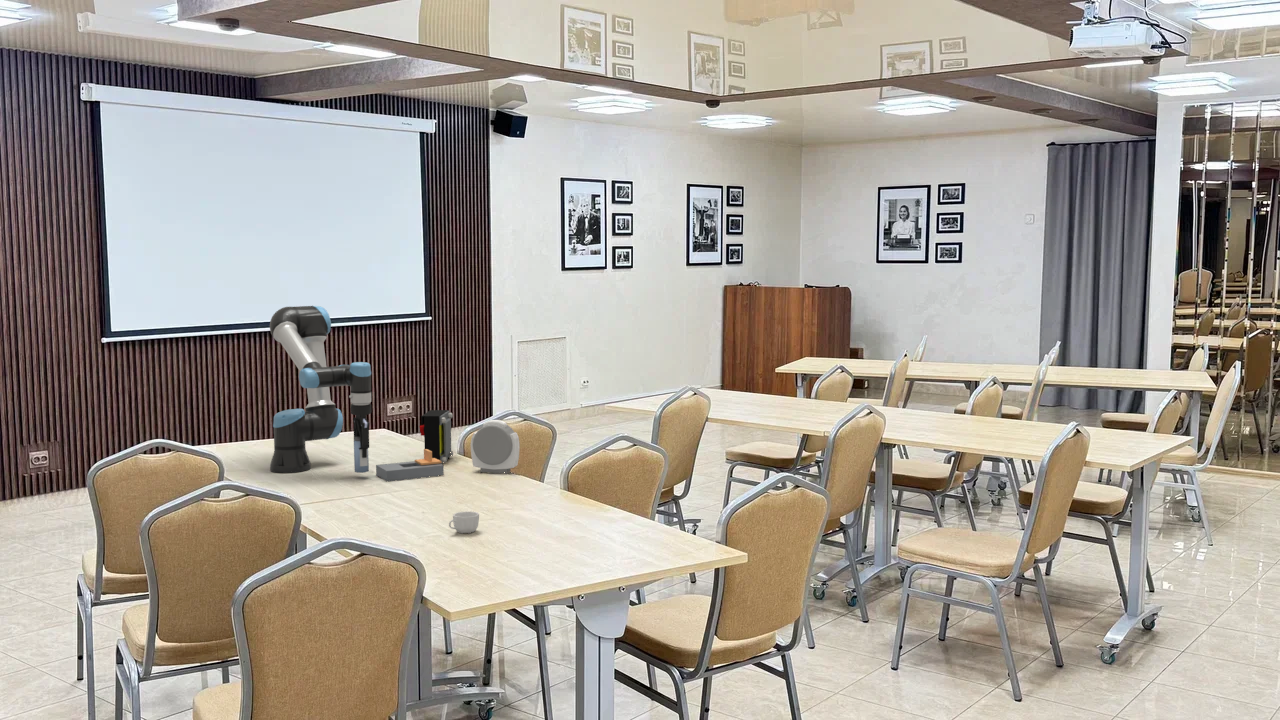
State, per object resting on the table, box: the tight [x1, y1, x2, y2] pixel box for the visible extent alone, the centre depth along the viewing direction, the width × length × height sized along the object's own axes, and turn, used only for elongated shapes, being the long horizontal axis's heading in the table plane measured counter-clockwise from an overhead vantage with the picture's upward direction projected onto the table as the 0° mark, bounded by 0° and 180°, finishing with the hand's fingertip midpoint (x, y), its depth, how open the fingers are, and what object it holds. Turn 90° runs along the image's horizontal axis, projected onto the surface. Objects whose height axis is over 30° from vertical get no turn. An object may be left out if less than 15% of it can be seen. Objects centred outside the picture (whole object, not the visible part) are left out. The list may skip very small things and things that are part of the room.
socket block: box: [375, 460, 445, 482], centre depth 400 cm, size 14×22×4 cm, turn 120°
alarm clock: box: [470, 419, 521, 475], centre depth 406 cm, size 18×8×20 cm, turn 80°
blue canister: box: [353, 436, 370, 473], centre depth 395 cm, size 5×5×13 cm
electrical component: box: [419, 409, 454, 465], centre depth 429 cm, size 18×10×20 cm, turn 179°
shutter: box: [414, 448, 442, 465], centre depth 403 cm, size 8×8×5 cm
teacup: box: [448, 510, 480, 534], centre depth 314 cm, size 10×8×5 cm
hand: (361, 464), depth 395 cm, fingers closed on blue canister, 5 cm apart
